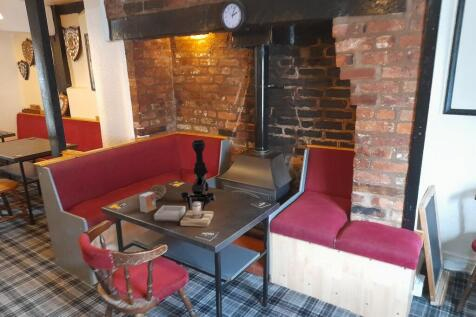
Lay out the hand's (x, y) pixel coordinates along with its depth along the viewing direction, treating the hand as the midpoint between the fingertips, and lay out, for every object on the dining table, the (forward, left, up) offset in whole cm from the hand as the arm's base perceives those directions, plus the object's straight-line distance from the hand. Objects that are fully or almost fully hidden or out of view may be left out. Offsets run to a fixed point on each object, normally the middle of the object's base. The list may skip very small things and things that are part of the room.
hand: (196, 210), depth 189 cm
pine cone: (-17, -42, -7) cm, 46 cm away
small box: (-4, -36, -7) cm, 37 cm away
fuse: (-1, 0, -7) cm, 7 cm away
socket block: (-1, 0, -7) cm, 7 cm away
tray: (-1, -18, -7) cm, 20 cm away
